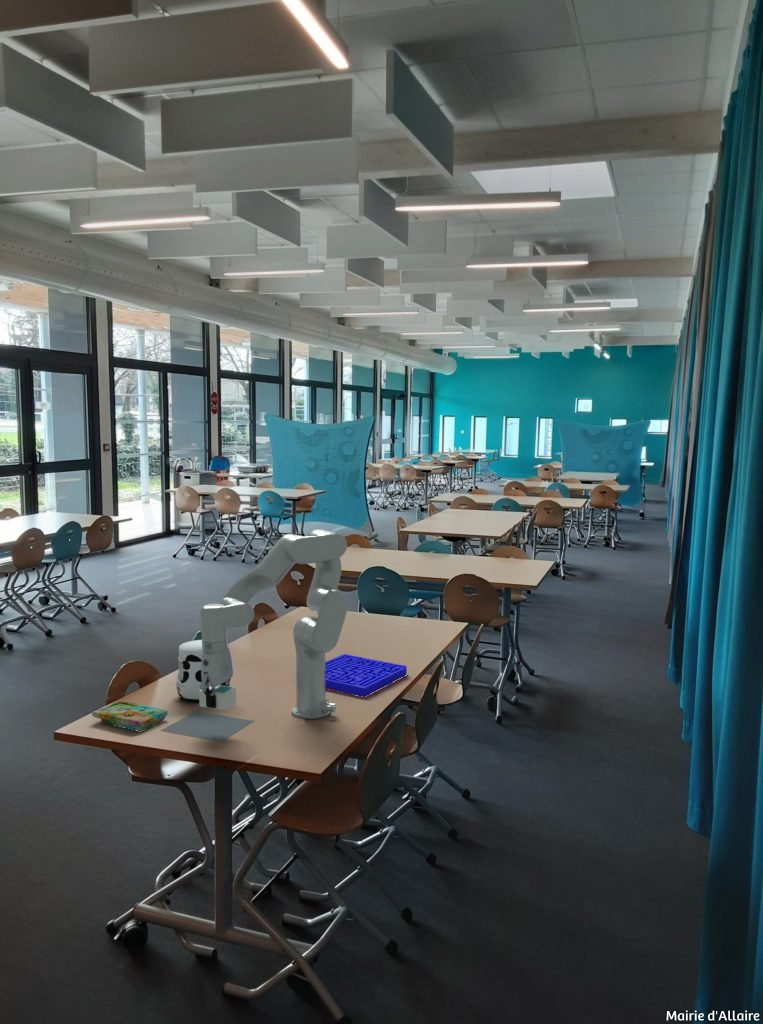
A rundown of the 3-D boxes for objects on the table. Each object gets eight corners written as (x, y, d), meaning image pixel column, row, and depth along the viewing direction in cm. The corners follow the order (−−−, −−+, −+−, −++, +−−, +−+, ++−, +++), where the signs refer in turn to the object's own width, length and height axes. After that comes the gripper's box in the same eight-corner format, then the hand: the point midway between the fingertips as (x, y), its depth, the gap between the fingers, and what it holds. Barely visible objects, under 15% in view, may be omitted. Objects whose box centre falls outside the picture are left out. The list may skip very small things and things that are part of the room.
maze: (364, 699, 258) (364, 688, 258) (296, 684, 274) (296, 673, 274) (408, 676, 283) (408, 666, 283) (344, 663, 300) (344, 653, 299)
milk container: (237, 691, 265) (236, 641, 263) (210, 707, 249) (209, 654, 247) (195, 685, 271) (194, 636, 269) (166, 701, 254) (165, 649, 253)
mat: (254, 722, 235) (254, 721, 235) (220, 744, 219) (220, 742, 219) (196, 712, 244) (196, 711, 244) (160, 732, 227) (160, 730, 227)
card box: (236, 703, 227) (235, 686, 226) (224, 710, 222) (223, 693, 221) (211, 699, 231) (210, 683, 230) (199, 706, 225) (198, 690, 224)
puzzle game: (140, 720, 225) (92, 709, 234) (140, 735, 226) (92, 723, 235) (167, 707, 236) (120, 698, 245) (167, 722, 236) (120, 712, 245)
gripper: (208, 654, 215) (211, 715, 217) (241, 638, 230) (244, 695, 232) (186, 652, 218) (190, 712, 220) (221, 636, 233) (224, 692, 235)
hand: (217, 702), depth 226 cm, fingers closed on card box, 6 cm apart
